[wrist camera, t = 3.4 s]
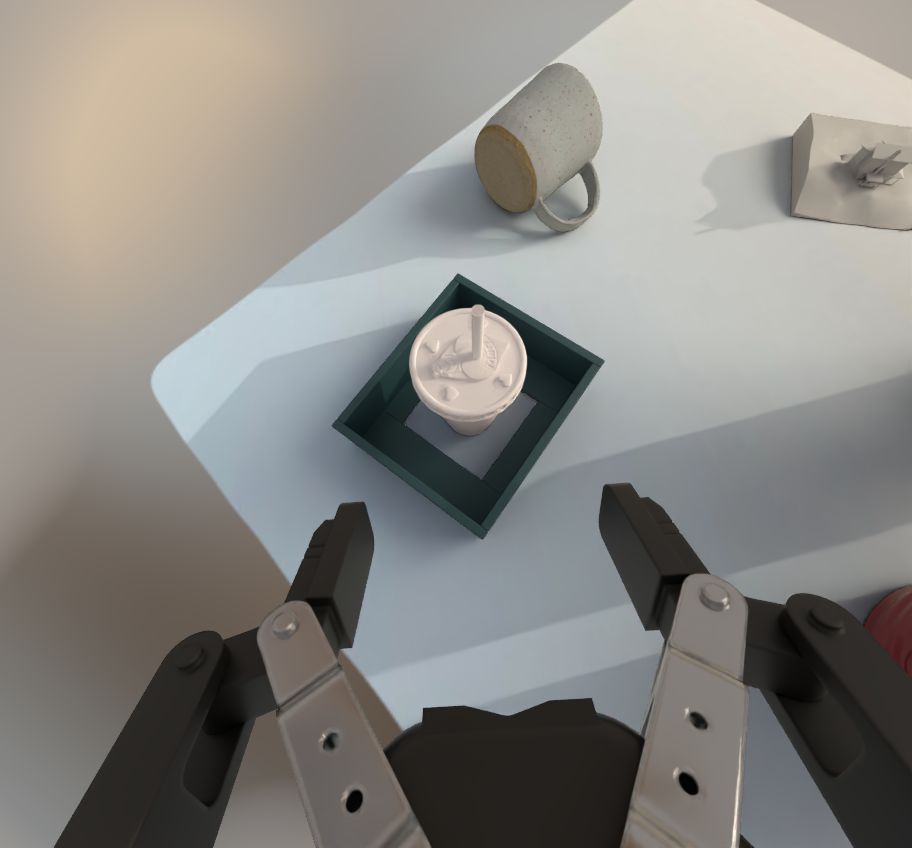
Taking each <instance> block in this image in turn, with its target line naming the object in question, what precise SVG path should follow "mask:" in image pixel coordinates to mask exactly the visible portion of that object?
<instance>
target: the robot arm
mask: <svg viewBox="0 0 912 848" xmlns="http://www.w3.org/2000/svg"><path fill="white" fill-rule="evenodd" d="M599 529H600V533H601V536H602V539H603V541H604V543H605V545H606V547H607V549H608V551H609V554H610V556H611V558H612V560H613V562H614V564H615V566H616V569H617V571H618V573H619V575H620V577H621V579H622V581H623V584H624V586H625V588H626V590H627V592H628V594H629V596H630V598H631V601H632V603H633V605H634V607H635V609H636V611H637V613H638V616H639V618H640V620H641V622H642V624H643V626H644V628H645V631H650V630H660V632H661V634H662V636H663V638H664V643H663V646H662V650H661V654H660V658H659V662H658V666H657V669H656V673H655V677H654V681H653V685H652V689H651V692H650V696H649V700H648V704H647V708H646V711H645V714H644V718H643V721H642V725H641V728H640V732H639V734H638V733H637V732H636V731H634V730H633V729H631V728H630V727H628V726H627V725H625V724H624V723H622V722H620V721H618V720H616V719H614V718H612V717H609V716H606V715H604V714H601V713H597V712H596V711H595V708H594V704H593V701H592V698H585V699H568V700H551V701H547V702H545V703H542V704H540V705H537V706H535V707H532V708H529V709H527V710H524V711H522V712H519V713H516V714H514V715H510V716H504V715H500V714H496V713H492V712H488V711H484V710H480V709H476V708H472V707H468V706H449V707H432V708H423V718H422V722H421V723H418V724H415V725H414V726H412V727H410V728H408V729H406V730H405V731H404V732H402V733H401V734H399V735H398V736H397V737H396V738H395V739H394V740H393V741H391V742H390V743H389V744H388V745H387V746H386V747H385V749H384V750H382V748H381V746H380V744H379V742H378V740H377V738H376V736H375V734H374V732H373V730H372V728H371V726H370V724H369V722H368V720H367V718H366V716H365V713H364V712H363V710H362V707H361V705H360V703H359V702H358V699H357V697H356V695H355V693H354V691H353V689H352V687H351V685H350V683H349V681H348V679H347V678H346V675H345V673H344V671H343V669H342V667H341V665H339V663H338V661H337V658H338V654H339V650H340V649H344V648H352V646H353V642H354V637H355V633H356V629H357V624H358V620H359V615H360V611H361V606H362V602H363V597H364V593H365V588H366V584H367V579H368V575H369V570H370V566H371V562H372V557H373V552H374V535H373V531H372V527H371V523H370V520H369V516H368V512H367V508H366V505H365V503H364V502H352V503H341V504H340V505H339V508H338V510H337V513H336V516H335V518H334V519H332V520H325V521H324V522H323V523H322V524H321V525H320V526H319V527H318V529H317V530H316V531H315V532H314V534H313V536H312V539H311V541H310V543H309V548H307V550H306V553H305V555H304V559H303V560H302V562H301V565H300V567H299V569H298V572H297V574H296V576H295V579H294V581H293V583H292V586H291V589H290V591H289V593H288V596H287V598H286V600H285V602H284V604H282V605H280V606H278V607H277V608H275V609H274V610H272V611H271V612H270V613H269V614H268V615H267V616H266V617H265V618H264V620H263V621H262V623H261V625H260V626H259V627H257V628H255V629H252V630H250V631H247V632H244V633H242V634H239V635H236V636H233V637H230V638H228V639H225V640H223V639H222V637H221V636H220V635H219V634H218V633H217V632H214V631H202V632H199V633H196V634H193V635H191V636H189V637H187V638H186V639H184V640H183V641H181V642H180V643H179V644H177V645H176V646H175V647H174V648H173V649H172V650H171V651H170V652H169V653H168V655H167V656H166V657H165V659H164V660H163V662H162V663H161V665H160V667H159V668H158V670H157V672H156V673H155V675H154V677H153V679H152V680H151V682H150V684H149V685H148V687H147V689H146V691H145V692H144V694H143V696H142V697H141V699H140V701H139V703H138V704H137V706H136V708H135V710H134V711H133V713H132V714H131V716H130V718H129V720H128V721H127V723H126V725H125V726H124V728H123V730H122V732H121V733H120V735H119V737H118V738H117V740H116V742H115V744H114V745H113V747H112V749H111V750H110V752H109V754H108V756H107V757H106V759H105V761H104V763H103V764H102V766H101V767H100V769H99V771H98V773H97V774H96V776H95V778H94V780H93V781H92V783H91V785H90V786H89V788H88V790H87V792H86V793H85V795H84V797H83V799H82V800H81V802H80V804H79V805H78V807H77V809H76V810H75V812H74V814H73V815H72V817H71V819H70V821H69V822H68V824H67V826H66V827H65V829H64V831H63V832H62V834H61V836H60V838H59V839H58V841H57V843H56V845H55V846H54V848H213V846H214V843H215V840H216V837H217V834H218V831H219V827H220V824H221V822H222V819H223V816H224V813H225V810H226V807H227V804H228V801H229V798H230V794H231V792H232V788H233V785H234V783H235V780H236V776H237V774H238V771H239V767H240V764H241V762H242V758H243V755H244V753H245V749H246V747H247V744H248V741H249V738H250V734H251V732H252V729H253V726H254V723H255V720H256V718H257V717H259V716H261V715H264V714H266V713H268V712H271V711H273V710H275V709H278V710H277V711H276V716H277V721H278V724H279V728H280V731H281V734H282V738H283V741H284V744H285V747H286V751H287V754H288V757H289V761H290V764H291V767H292V771H293V774H294V777H295V780H296V784H297V787H298V790H299V793H300V797H301V800H302V803H303V807H304V810H305V813H306V817H307V820H308V823H309V826H310V830H311V833H312V836H313V839H314V843H315V846H316V848H754V847H753V846H752V845H751V844H750V843H749V842H748V841H747V840H746V839H745V838H744V837H743V836H742V835H741V834H740V824H741V809H742V794H743V779H744V764H745V749H746V734H747V719H748V704H749V687H748V686H751V687H755V688H759V689H760V690H761V692H762V694H763V696H764V697H765V699H766V701H767V702H768V704H769V706H770V707H771V709H772V711H773V712H774V714H775V716H776V717H777V719H778V721H779V723H780V724H781V726H782V728H783V729H784V731H785V733H786V734H787V736H788V738H789V739H790V741H791V743H792V744H793V746H794V748H795V750H796V751H797V753H798V755H799V756H800V758H801V760H802V761H803V763H804V765H805V766H806V768H807V770H808V771H809V773H810V775H811V777H812V778H813V780H814V782H815V783H816V785H817V787H818V788H819V790H820V792H821V793H822V795H823V797H824V799H825V800H826V802H827V804H828V805H829V807H830V809H831V810H832V812H833V814H834V815H835V817H836V819H837V820H838V822H839V824H840V826H841V827H842V829H843V831H844V832H845V834H846V836H847V837H848V839H849V841H850V842H851V844H852V846H853V847H854V848H912V678H911V677H910V676H909V675H908V674H907V673H906V672H905V670H904V669H903V668H902V667H901V666H900V665H899V664H898V663H897V662H896V661H895V660H894V659H893V658H892V656H891V655H890V654H889V653H888V652H887V651H886V650H885V649H884V648H883V647H882V646H881V645H880V644H879V642H878V641H877V640H876V639H875V638H874V637H873V636H872V635H871V634H870V633H869V632H868V631H867V630H866V629H865V627H864V626H863V625H862V624H861V623H860V622H859V621H858V620H857V619H856V618H855V617H854V616H853V615H852V614H851V613H849V612H848V611H847V610H846V609H844V608H843V607H841V606H839V605H838V604H836V603H834V602H832V601H830V600H828V599H826V598H823V597H820V596H817V595H813V594H805V593H800V594H795V595H792V596H791V597H790V598H789V599H788V600H787V602H786V604H785V605H782V604H777V603H772V602H767V601H762V600H757V599H752V598H748V597H745V596H743V595H742V594H741V593H740V592H739V591H738V590H737V589H736V588H735V587H734V586H733V585H731V584H730V583H728V582H727V581H725V580H723V579H721V578H719V577H716V576H713V575H711V574H710V573H709V571H708V570H707V569H706V567H705V566H704V565H703V563H702V562H701V560H700V559H699V558H698V556H697V555H696V553H695V552H694V551H693V549H692V548H691V546H690V545H689V544H688V542H687V541H686V540H685V538H684V537H683V535H682V534H680V533H679V530H678V528H677V527H676V526H675V524H674V523H672V520H671V519H670V517H669V516H668V515H667V513H666V512H665V510H664V509H663V508H662V507H661V506H660V505H658V504H657V503H655V502H654V501H653V500H651V499H650V498H649V497H644V498H640V497H639V495H638V494H637V492H636V491H635V489H634V488H633V486H632V485H631V484H630V483H617V484H606V485H604V487H603V492H602V499H601V506H600V514H599Z"/></svg>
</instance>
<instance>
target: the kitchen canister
mask: <svg viewBox="0 0 912 848" xmlns="http://www.w3.org/2000/svg"><path fill="white" fill-rule="evenodd" d="M864 627H865V629H866V630H867V631H868V632H869V633H870V634H871V635H872V636H873V637H874V638H875V639H876V640H877V641H878V642H879V644H880V645H881V646H882V647H883V648H884V649H885V650H886V651H887V652H888V653H889V654H890V655H891V656H892V658H893V659H894V660H895V661H896V662H897V663H898V664H899V665H900V666H901V667H902V668H903V669H904V670H905V672H906V673H907V674H908V675H909V676H910V677H911V678H912V585H910V586H906V587H904V588H901V589H899V590H897V591H895V592H893V593H892V594H890V595H888V596H887V597H886V598H885V599H883V600H882V601H881V602H880V603H879V604H878V605H877V606H876V607H875V609H874V610H873V611H872V613H871V614H870V616H869V617H868V619H867V621H866V623H865V625H864Z"/></svg>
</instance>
